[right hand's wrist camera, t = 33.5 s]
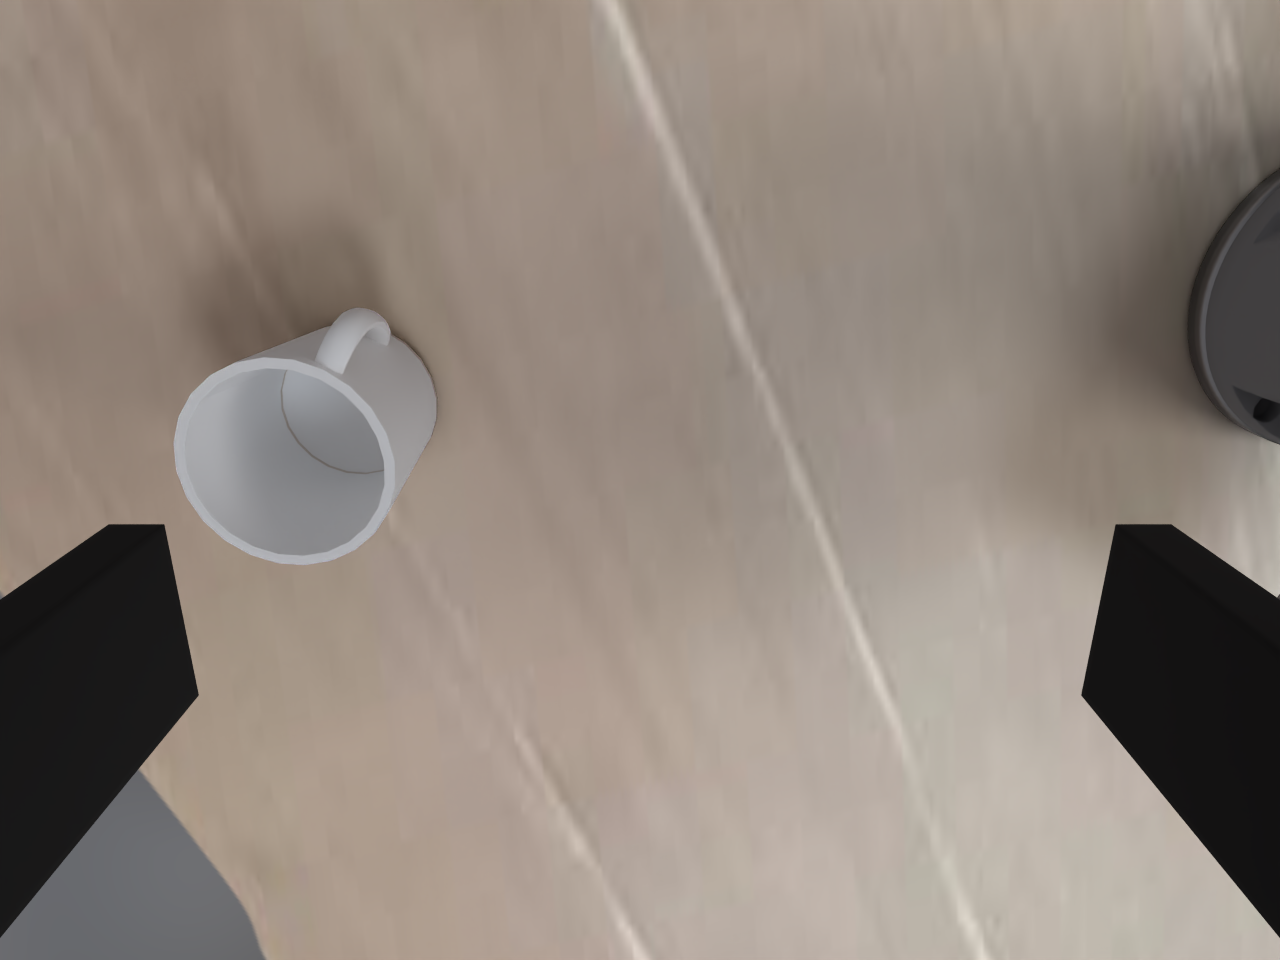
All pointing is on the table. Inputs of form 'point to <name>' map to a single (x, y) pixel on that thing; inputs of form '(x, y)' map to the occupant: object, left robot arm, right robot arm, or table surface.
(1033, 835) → the table surface
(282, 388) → the mug
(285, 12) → the table surface
